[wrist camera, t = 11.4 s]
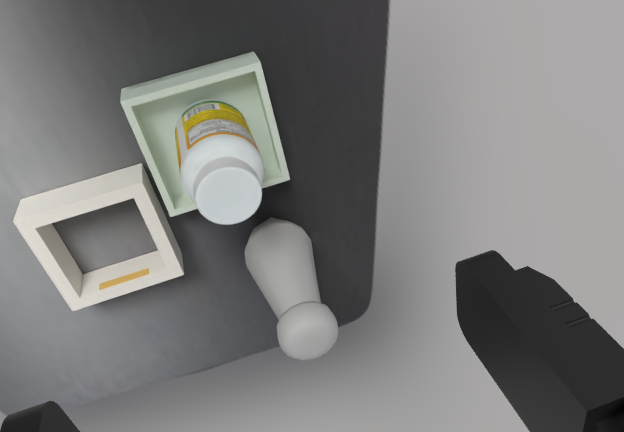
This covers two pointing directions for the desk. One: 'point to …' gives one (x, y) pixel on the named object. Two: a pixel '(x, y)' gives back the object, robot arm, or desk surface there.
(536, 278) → the robot arm
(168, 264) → the white square frame
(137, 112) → the tray
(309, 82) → the desk surface
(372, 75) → the desk surface
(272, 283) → the salt shaker
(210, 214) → the supplement bottle
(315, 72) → the desk surface
